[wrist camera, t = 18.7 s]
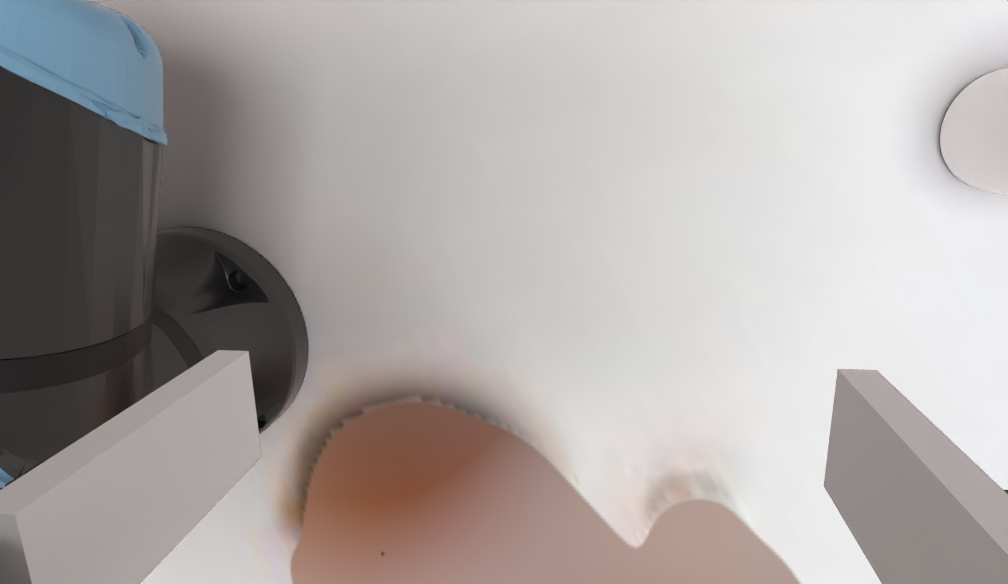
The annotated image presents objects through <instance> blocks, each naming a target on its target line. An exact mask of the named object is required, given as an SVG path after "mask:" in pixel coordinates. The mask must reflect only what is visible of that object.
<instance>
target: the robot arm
mask: <svg viewBox="0 0 1008 584" xmlns="http://www.w3.org/2000/svg"><path fill="white" fill-rule="evenodd" d="M167 142H168V134H167V133H166V132H165V131H164V114H163V61H162V57H161V53H160V50H159V48H158V46H157V44H156V42H155V41H154V39H153V38H152V37H151V35H150V34H149V33H148V32H147V31H146V30H145V29H144V28H143V27H142V26H141V25H140V24H138V23H137V22H136V21H134V20H133V19H131V18H130V17H128V16H126V15H124V14H122V13H119V12H117V11H114V10H112V9H109V8H107V7H104V6H101V5H99V4H96V3H93V2H90V1H88V0H0V584H140V583H141V582H142V581H143V580H144V579H145V578H146V577H147V576H148V575H149V574H150V573H151V572H152V570H153V569H154V568H155V567H156V566H157V565H158V564H159V563H160V562H161V561H162V560H163V559H164V558H165V557H166V556H167V555H168V554H169V553H170V552H171V551H172V550H173V549H174V548H175V546H176V545H177V544H178V543H179V542H180V541H181V540H182V539H183V538H184V537H185V536H186V535H187V534H188V533H189V532H190V531H191V530H192V529H193V528H194V527H195V526H196V525H197V524H198V523H199V521H200V520H201V519H202V518H203V517H204V516H205V515H206V514H207V513H208V512H209V511H210V510H211V509H212V508H213V507H214V506H215V505H216V504H217V503H218V502H219V501H220V500H221V499H222V497H223V496H224V495H225V494H226V493H227V492H228V491H229V490H230V489H231V488H232V487H233V486H234V485H235V484H236V483H237V482H238V481H239V480H240V479H241V478H242V477H243V476H244V475H245V473H246V472H247V471H248V470H249V469H250V468H251V467H252V466H253V465H254V464H255V463H256V462H257V461H258V460H259V459H260V458H261V457H262V454H261V446H260V438H259V434H261V433H262V432H263V431H265V430H266V429H267V428H268V427H269V426H270V425H271V424H272V423H273V422H274V421H275V420H276V419H278V418H279V417H280V416H281V415H282V414H283V413H284V412H285V410H286V409H287V408H288V407H289V406H290V405H291V403H292V402H293V400H294V399H295V397H296V395H297V393H298V392H299V389H300V387H301V385H302V382H303V379H304V375H305V372H306V366H307V358H308V343H307V334H306V329H305V324H304V320H303V317H302V314H301V311H300V309H299V306H298V304H297V302H296V300H295V298H294V296H293V294H292V292H291V290H290V289H289V287H288V286H287V284H286V283H285V281H284V280H283V278H282V277H281V276H280V275H279V273H278V272H277V271H276V270H275V269H274V268H273V267H272V266H271V265H270V264H269V263H268V262H267V261H266V260H265V259H264V258H263V257H262V256H260V255H259V254H258V253H257V252H255V251H254V250H253V249H251V248H250V247H248V246H246V245H245V244H243V243H241V242H240V241H238V240H236V239H234V238H231V237H229V236H227V235H224V234H221V233H219V232H215V231H212V230H207V229H202V228H194V227H177V228H169V229H165V230H160V231H158V213H159V198H160V184H161V171H162V158H163V145H167ZM824 487H825V489H826V491H827V492H828V494H829V496H830V497H831V499H832V501H833V502H834V504H835V506H836V507H837V509H838V511H839V512H840V514H841V516H842V517H843V519H844V521H845V522H846V524H847V526H848V527H849V529H850V531H851V533H852V534H853V536H854V538H855V539H856V541H857V543H858V544H859V546H860V548H861V549H862V551H863V553H864V554H865V556H866V558H867V559H868V561H869V563H870V564H871V566H872V568H873V569H874V571H875V573H876V574H877V576H878V578H879V579H880V581H881V583H882V584H1008V490H1003V489H1002V488H1001V487H1000V486H999V485H998V484H997V483H996V482H994V481H993V480H992V479H991V478H990V477H989V476H988V475H987V474H986V473H985V472H984V471H983V470H982V469H981V468H980V467H979V466H978V465H976V464H975V463H974V462H973V461H972V460H971V459H970V458H969V457H968V456H967V455H966V454H965V453H964V452H963V451H962V450H961V449H960V448H958V447H957V446H956V445H955V444H954V443H953V442H952V441H951V440H950V439H949V438H948V437H947V436H946V435H945V434H944V433H943V432H942V431H941V430H939V429H938V428H937V427H936V426H935V425H934V424H933V423H932V422H931V421H930V420H929V419H928V418H927V417H926V416H925V415H924V414H923V413H921V412H920V411H919V410H918V409H917V408H916V407H915V406H914V405H913V404H912V403H911V402H910V401H909V400H908V399H907V398H906V397H905V396H903V395H902V394H901V393H900V392H899V391H898V390H897V389H896V388H895V387H894V386H893V385H892V384H891V383H890V382H889V381H888V380H887V379H885V378H884V377H883V376H882V375H881V374H880V373H879V372H878V371H877V370H853V369H838V371H837V380H836V388H835V396H834V405H833V413H832V421H831V430H830V438H829V446H828V455H827V463H826V471H825V480H824Z"/></svg>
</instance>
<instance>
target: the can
mask: <svg viewBox="0 0 1008 584" xmlns="http://www.w3.org/2000/svg"><path fill="white" fill-rule="evenodd" d="M940 146H941V152H942V155H943V158H944V161H945V163H946V165H947V166H948V168H949V169H950V171H951V172H952V173H953V174H954V175H955V176H956V177H957V178H958V179H960V180H961V181H963V182H964V183H966V184H968V185H970V186H972V187H975V188H978V189H982V190H986V191H990V192H994V193H998V194H1003V195H1007V196H1008V68H1005V69H1000V70H996V71H993V72H990V73H988V74H986V75H984V76H982V77H980V78H978V79H977V80H975V81H973V82H972V83H971V84H969V85H968V86H967V87H966V88H965V89H964V90H963V91H962V92H961V93H960V94H959V95H958V96H957V97H956V98H955V100H954V101H953V102H952V104H951V105H950V107H949V109H948V111H947V113H946V115H945V117H944V120H943V123H942V127H941V133H940Z"/></svg>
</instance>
